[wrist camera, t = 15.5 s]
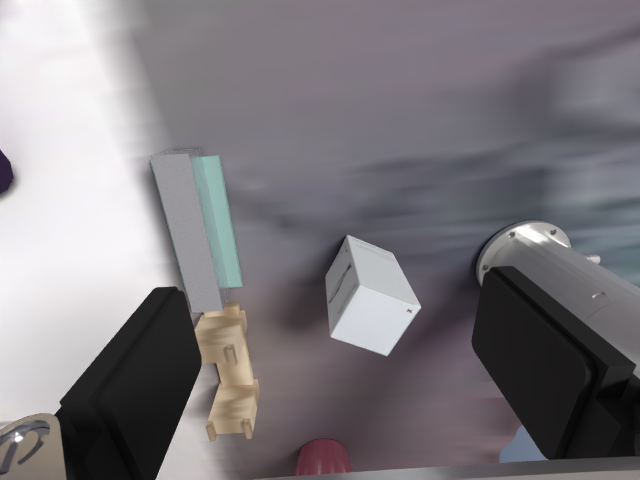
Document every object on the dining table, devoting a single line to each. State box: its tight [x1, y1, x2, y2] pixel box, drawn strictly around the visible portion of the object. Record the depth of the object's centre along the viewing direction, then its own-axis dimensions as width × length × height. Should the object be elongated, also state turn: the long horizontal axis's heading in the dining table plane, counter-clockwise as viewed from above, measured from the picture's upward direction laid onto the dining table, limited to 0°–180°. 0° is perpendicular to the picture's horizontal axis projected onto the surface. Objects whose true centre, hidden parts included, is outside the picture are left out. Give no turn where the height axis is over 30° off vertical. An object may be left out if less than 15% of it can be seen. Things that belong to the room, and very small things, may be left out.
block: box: [150, 148, 230, 313], centre depth 38 cm, size 20×4×4 cm, turn 3°
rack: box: [194, 302, 260, 441], centre depth 46 cm, size 6×20×8 cm, turn 3°
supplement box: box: [325, 235, 421, 356], centre depth 38 cm, size 7×7×13 cm
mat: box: [150, 155, 243, 290], centre depth 40 cm, size 8×18×1 cm, turn 3°
